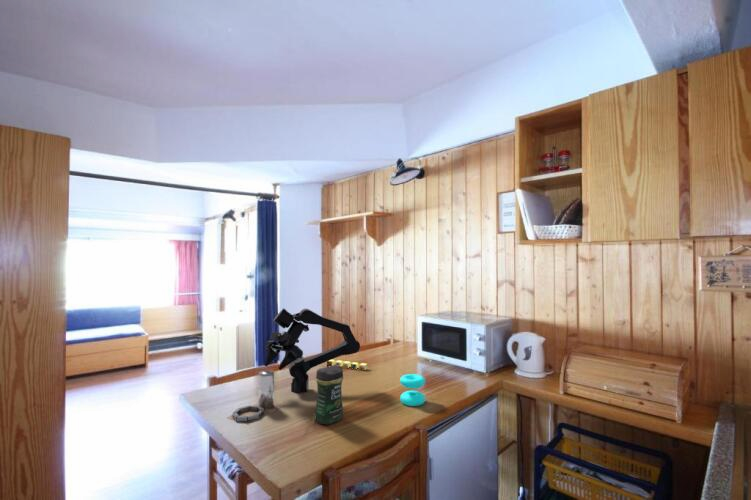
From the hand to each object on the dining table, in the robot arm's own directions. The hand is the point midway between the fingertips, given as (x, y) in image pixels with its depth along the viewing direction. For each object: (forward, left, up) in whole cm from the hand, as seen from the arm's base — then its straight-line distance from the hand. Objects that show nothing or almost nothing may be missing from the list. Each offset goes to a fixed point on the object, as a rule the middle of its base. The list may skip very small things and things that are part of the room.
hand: (272, 367), depth 138 cm
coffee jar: (-26, +13, -14) cm, 32 cm away
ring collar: (+3, +14, -13) cm, 19 cm away
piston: (0, +6, -13) cm, 14 cm away
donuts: (-56, -5, -14) cm, 58 cm away
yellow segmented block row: (-22, -47, -15) cm, 54 cm away
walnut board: (+1, +10, -14) cm, 17 cm away
